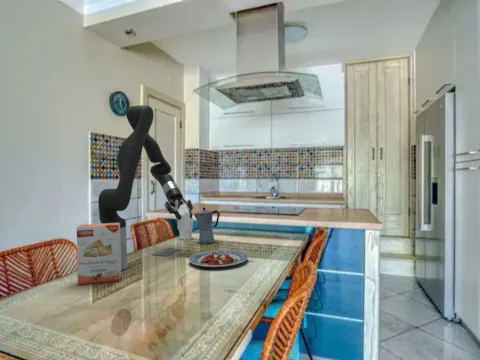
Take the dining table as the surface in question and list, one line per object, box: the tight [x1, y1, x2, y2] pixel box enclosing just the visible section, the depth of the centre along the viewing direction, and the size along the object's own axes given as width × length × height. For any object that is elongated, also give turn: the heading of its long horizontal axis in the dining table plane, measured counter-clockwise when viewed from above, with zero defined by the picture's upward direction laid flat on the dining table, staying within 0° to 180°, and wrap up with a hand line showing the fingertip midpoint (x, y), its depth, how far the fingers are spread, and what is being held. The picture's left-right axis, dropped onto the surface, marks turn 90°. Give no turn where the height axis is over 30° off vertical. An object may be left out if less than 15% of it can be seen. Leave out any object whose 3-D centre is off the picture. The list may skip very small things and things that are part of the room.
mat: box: [151, 247, 183, 257], centre depth 152 cm, size 14×8×1 cm, turn 157°
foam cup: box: [178, 216, 194, 241], centre depth 183 cm, size 10×9×13 cm
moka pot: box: [192, 207, 221, 245], centre depth 173 cm, size 10×15×20 cm, turn 115°
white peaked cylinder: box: [176, 204, 190, 231], centre depth 145 cm, size 6×12×6 cm
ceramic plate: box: [188, 249, 249, 269], centre depth 133 cm, size 26×26×3 cm
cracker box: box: [76, 223, 122, 286], centre depth 111 cm, size 14×6×21 cm, turn 105°
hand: (185, 218), depth 144 cm, fingers closed on white peaked cylinder, 5 cm apart
